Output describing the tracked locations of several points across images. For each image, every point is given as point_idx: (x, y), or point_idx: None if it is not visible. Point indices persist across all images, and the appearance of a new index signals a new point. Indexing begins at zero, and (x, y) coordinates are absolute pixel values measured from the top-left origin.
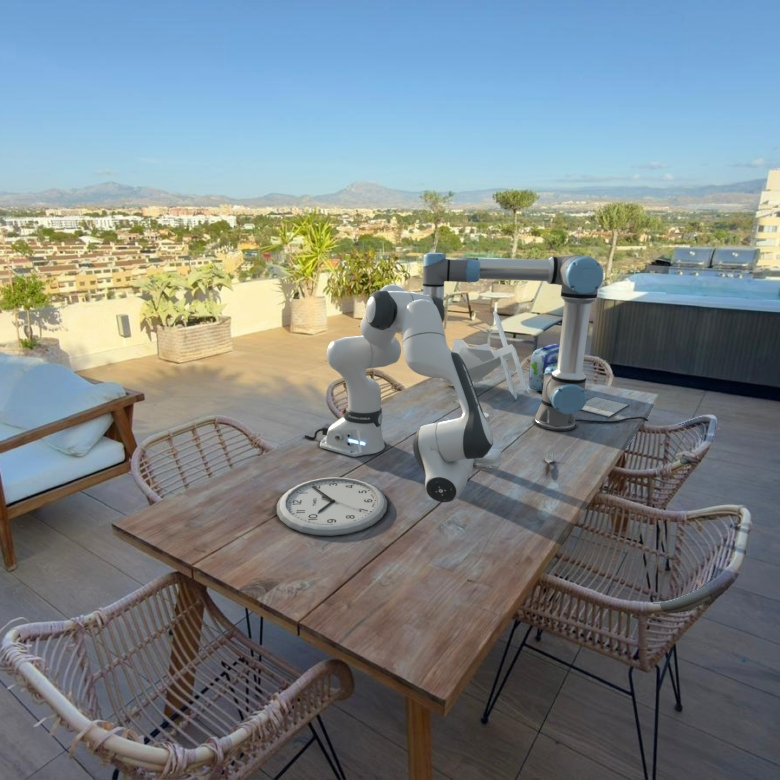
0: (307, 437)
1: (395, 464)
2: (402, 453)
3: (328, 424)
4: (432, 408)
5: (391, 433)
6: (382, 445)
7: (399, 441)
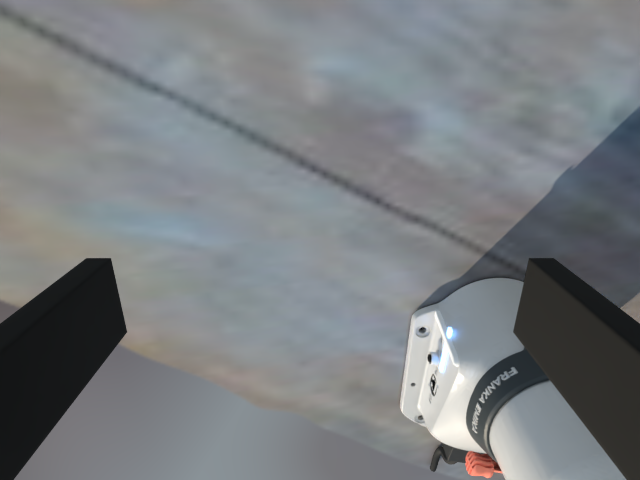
0: (437, 462)
1: (623, 233)
2: (543, 220)
3: (452, 456)
4: (71, 141)
5: (377, 269)
6: (518, 287)
7: (444, 238)
